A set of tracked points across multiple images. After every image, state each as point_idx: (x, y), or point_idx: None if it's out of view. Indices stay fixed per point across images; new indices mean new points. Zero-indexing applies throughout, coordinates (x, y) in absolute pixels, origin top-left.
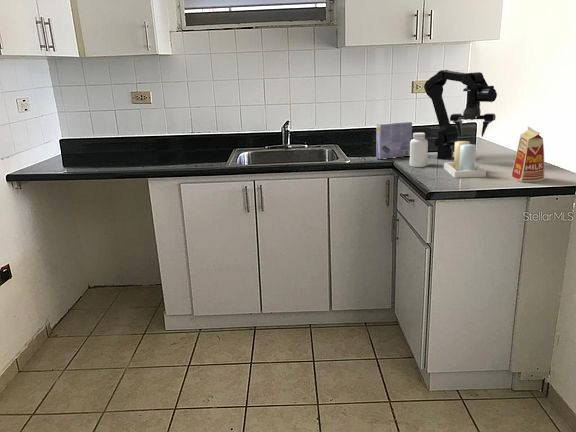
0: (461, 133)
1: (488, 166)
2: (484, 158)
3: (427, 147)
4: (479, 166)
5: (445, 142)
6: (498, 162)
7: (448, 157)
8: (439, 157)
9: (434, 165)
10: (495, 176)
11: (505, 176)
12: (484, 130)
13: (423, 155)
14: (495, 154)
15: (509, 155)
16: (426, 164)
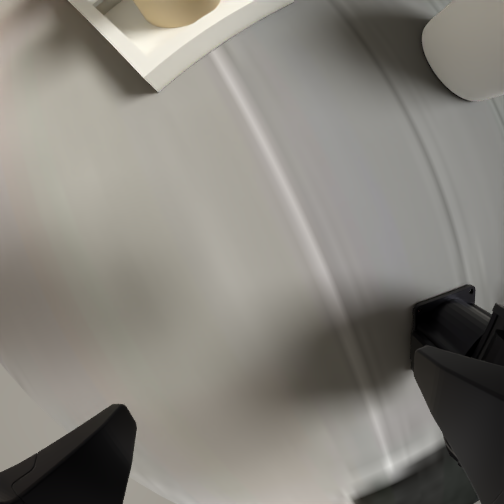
0: (436, 370)
1: (103, 203)
2: (245, 418)
3: (486, 14)
4: (72, 2)
5: (500, 331)
6: (122, 345)
7: (425, 322)
8: (464, 301)
9: (406, 87)
10: (31, 29)
11: (6, 55)
12: (47, 448)
13: (452, 4)
14: (247, 488)
15: (187, 485)
16: (427, 49)
